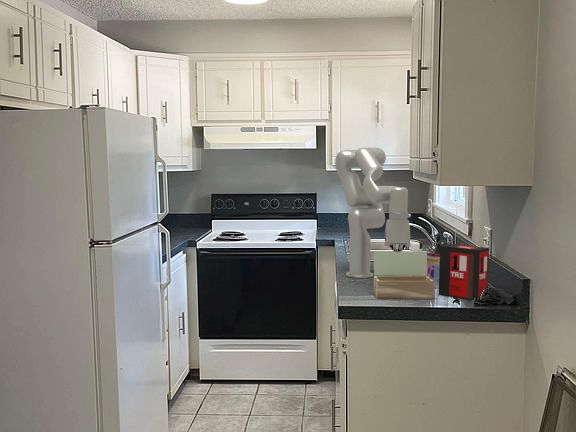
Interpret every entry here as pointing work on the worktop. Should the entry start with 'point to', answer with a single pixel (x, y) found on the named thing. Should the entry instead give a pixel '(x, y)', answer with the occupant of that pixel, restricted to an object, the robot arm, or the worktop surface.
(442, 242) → the pump dispenser
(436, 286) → the gum box
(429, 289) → the birch box
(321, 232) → the worktop surface
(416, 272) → the lid
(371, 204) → the robot arm
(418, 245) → the medicine bottle
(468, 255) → the cleaning product box
